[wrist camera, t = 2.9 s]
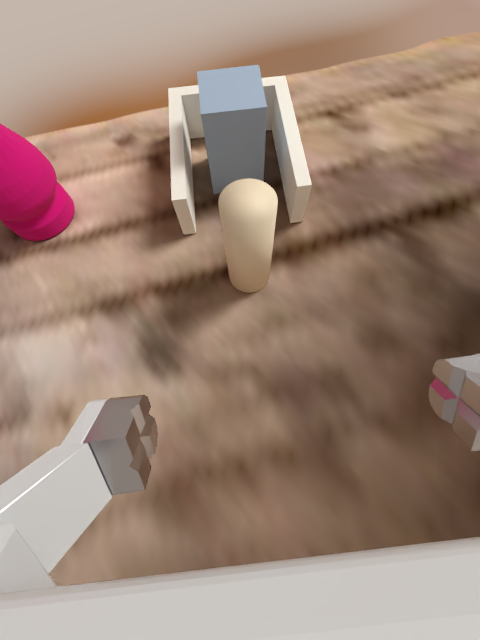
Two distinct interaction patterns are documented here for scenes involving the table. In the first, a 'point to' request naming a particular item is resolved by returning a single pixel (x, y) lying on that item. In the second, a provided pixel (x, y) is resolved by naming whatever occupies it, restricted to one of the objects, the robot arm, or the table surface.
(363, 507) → the table surface
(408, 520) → the table surface
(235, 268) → the block
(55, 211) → the pepper mill
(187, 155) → the white u-shaped wall
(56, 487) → the robot arm
